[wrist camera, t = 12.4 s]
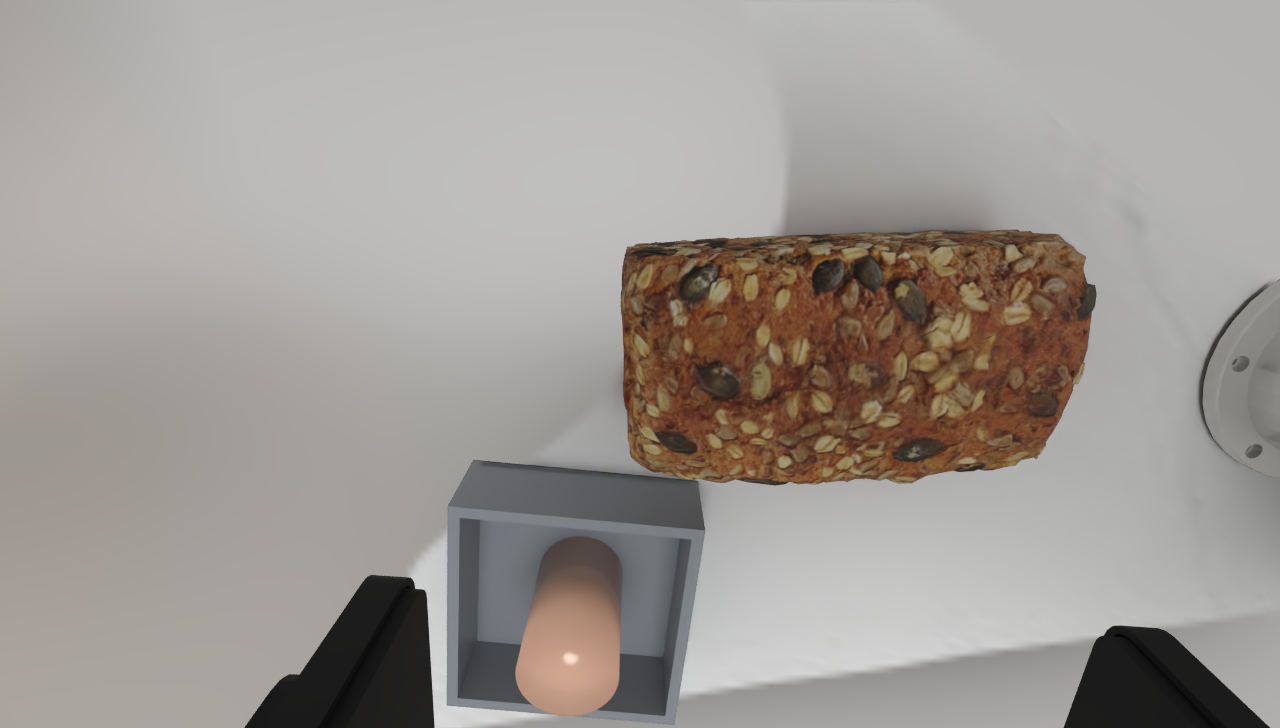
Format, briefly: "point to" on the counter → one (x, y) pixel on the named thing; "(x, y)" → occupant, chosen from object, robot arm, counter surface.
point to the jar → (573, 629)
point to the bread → (850, 353)
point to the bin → (509, 563)
